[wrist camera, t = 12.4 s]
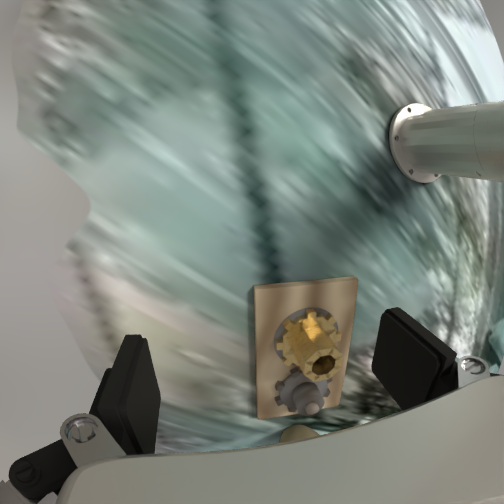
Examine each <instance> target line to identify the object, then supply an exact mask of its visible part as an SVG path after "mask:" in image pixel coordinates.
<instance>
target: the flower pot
mask: <svg viewBox="0 0 504 504" xmlns="http://www.w3.org/2000/svg"><path fill="white" fill-rule="evenodd" d="M315 436H320V435H319V434H318V433H317V432H315V431H314V430H312V429H311V428H309V427H307V426H304V425H293V426H290V427H288V428H287V429H286V430H284V432H283V433H282V435H281V438H280V440H279V443H285V442H290V441H296V440H301V439H306V438H311V437H315Z"/></svg>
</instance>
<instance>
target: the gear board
mask: <svg viewBox="0 0 504 504" xmlns="http://www.w3.org/2000/svg"><path fill="white" fill-rule="evenodd" d="M357 287H358V279H357V278H356V277H354V276H349V277H340V278H330V279H320V280H309V281H299V282H288V283H276V284H264V285H254V321H255V363H256V405H257V417H258V419H266V418H273V417H280V416H286V415H292V414H298V413H299V414H301V415H312V414H315V413H317V412H318V411H320V410H321V409H323V408H328V407H332V406H336V405H339V401H340V396H341V392H342V387H343V382H344V376H345V371H346V365H347V360H348V354H349V348H350V341H351V335H352V328H353V320H354V313H355V305H356V296H357ZM312 308H314V310H315V311H316V314H317V313H320V314H322V315H323V316H324V317H325V316H326V315H327V314H328V313H330V314H331V315H332V316H333V317H334V318H335V319H336V320H337V321H336V322H335V323H334V324H333V325H334V326H335V328H336V329H337V330H338V331H339V332H340V333H341V340H340V341H337V342H335V345H336V346H337V348H338V349H339V350H340V352H341V353H342V354H343V360H342V366H341V369H340V370H339V371H338V372H337V373H335V374H334V375H333V376H332V377H331V378H330V379H327V380H322V381H316V382H314V381H312V380H311V379H309V378H308V377H306V376H304V374H303V372H302V370H301V368H300V366H297V365H296V364H294V363H292V364H291V365H290V366H289V367H288V366H287V365H285V364H284V363H283V361H282V359H281V358H282V357H283V355H282V353H281V350H276V347H275V339H280V338H281V332H282V331H283V330H284V329H285V328H284V326H283V324H282V323H283V322H284V321H285V320H287V319H288V318H289V319H291V320H292V321H293V320H294V319H295V318H296V317H297V316H301V315H305V309H312ZM337 330H336V331H337ZM320 357H321V356H320ZM320 357H319V358H320ZM319 358H318V359H319Z"/></svg>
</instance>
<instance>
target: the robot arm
mask: <svg viewBox="0 0 504 504" xmlns="http://www.w3.org/2000/svg"><path fill="white" fill-rule="evenodd" d="M389 142H390V149H391V152H392V156H393V158H394V160H395V163H396V164H397V166H398V167H399V169H400V170H401V171H402V173H403V174H404V175H405V176H407V177H408V178H409V179H411V180H413V181H415V182H420V183H429V182H433V181H435V180H437V179H438V178H439V177H440V176H441V175H450V176H459V177H467V178H475V179H482V180H489V181H497V182H504V101H496V102H486V103H478V104H470V105H463V106H455V107H449V108H442V109H436V110H432V109H431V108H429V107H427V106H425V105H423V104H418V103H413V104H408V105H405V106H403V107H401V108H400V109H399V110H398V111H397V112H396V113H395V115H394V117H393V119H392V121H391V124H390V130H389ZM456 356H457V353H456V352H455V351H453V350H452V349H451V348H450V347H448V346H447V345H446V344H445V343H444V342H442V341H441V340H440V339H439V338H437V337H436V336H435V335H434V334H432V333H431V332H430V331H429V330H427V329H426V328H425V327H424V326H422V325H421V324H420V323H419V322H417V321H416V320H415V319H413V318H412V317H411V316H410V315H408V314H407V313H406V312H404V311H403V310H402V309H401V308H399V307H396V308H391V309H387V310H385V312H384V313H383V314H382V316H381V320H380V326H379V331H378V337H377V342H376V347H375V351H374V356H373V361H372V371H373V373H374V374H375V376H376V377H377V378H378V380H379V381H380V382H381V383H382V385H383V386H384V387H385V388H386V390H387V391H388V392H389V393H390V395H391V396H392V397H393V399H394V400H395V401H396V402H397V404H398V405H399V406H400V408H401V409H402V410H403V411H401V412H399V413H396V414H393V415H390V416H387V417H384V418H381V419H378V420H375V421H372V422H368V423H365V424H362V425H358V426H355V427H351V428H348V429H344V430H340V431H336V432H332V433H328V434H324V435H320V436H315V437H311V438H306V439H301V440H296V441H290V442H285V443H279V444H273V445H266V446H259V447H252V448H243V449H233V450H222V451H210V452H193V453H165V454H154V451H155V442H156V433H157V424H158V416H159V408H160V400H161V397H160V391H159V387H158V383H157V379H156V376H155V372H154V368H153V363H152V359H151V355H150V351H149V346H148V342H147V339H146V338H142V336H141V335H126V336H125V337H124V340H123V342H122V345H121V347H120V349H119V352H118V354H117V357H116V359H115V362H114V364H113V367H112V368H108V369H106V371H105V373H104V376H103V378H102V381H101V383H100V386H99V388H98V391H97V393H96V396H95V398H94V401H93V404H92V406H91V409H90V412H89V414H86V413H83V414H76V415H73V416H71V417H69V418H68V419H66V420H65V421H64V423H63V424H62V426H61V429H60V435H61V438H62V439H60V440H58V441H56V442H54V443H52V444H50V445H48V446H46V447H44V448H42V449H39V450H38V451H35V452H33V453H31V454H29V455H27V456H24V457H22V458H20V459H19V460H17V461H15V462H14V463H13V464H12V465H11V467H10V470H9V479H10V480H8V481H7V482H6V483H5V482H4V481H3V480H2V481H1V482H0V504H504V375H499V374H493V373H490V371H489V367H488V365H487V363H486V362H485V361H484V360H482V359H481V358H478V357H475V356H464V357H462V358H460V359H459V360H458V363H457V362H456V361H455V359H456Z"/></svg>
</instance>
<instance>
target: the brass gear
mask: <svg viewBox="0 0 504 504" xmlns="http://www.w3.org/2000/svg"><path fill="white" fill-rule="evenodd" d="M336 321H337V320H336V319H335V318H334V317H333V316H332V315H331V314H330V313H328V314H327V315H326V316H325V317H324V316H323V315H322V314H320V313H317V314H316V311H315V310H314V308H312V309H305V315H301V316H297V317H296V318H295V319H294V320H293V321H292V320H291V319H289V318H288V319H287V320H285V321H284V322H283V323H282V324H283V326H284V328H285V329H284V330H283V331H282V332H281V338H280V339H275V347H276V350H281V353H282V355H283V357H282V358H281V359H282V361H283V363H284V364H285V365H287V366H288V367H289V366H290V365H291V364H292V363H294V364H296V365H297V366H300V368H301V370H302V372H303V374H304V376H306V377H308V378H309V379H311V380H312V381H314V382H316V381H322V380H327V379H330V378H331V377H332V376H333V375H334V374H335V373H337V372H338V371H339V370H340V369H341V366H342V360H343V354H342V353H341V352H340V350H339V349H338V348H337V346H336V345H335V342H337V341H340V340H341V333H340V332H339V331H338V330H337V329H336V328H335V326H334V325H333V324H334V323H335V322H336ZM336 330H337V331H336ZM320 356H321V357H320ZM319 357H320V358H319ZM318 358H319V359H318Z"/></svg>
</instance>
